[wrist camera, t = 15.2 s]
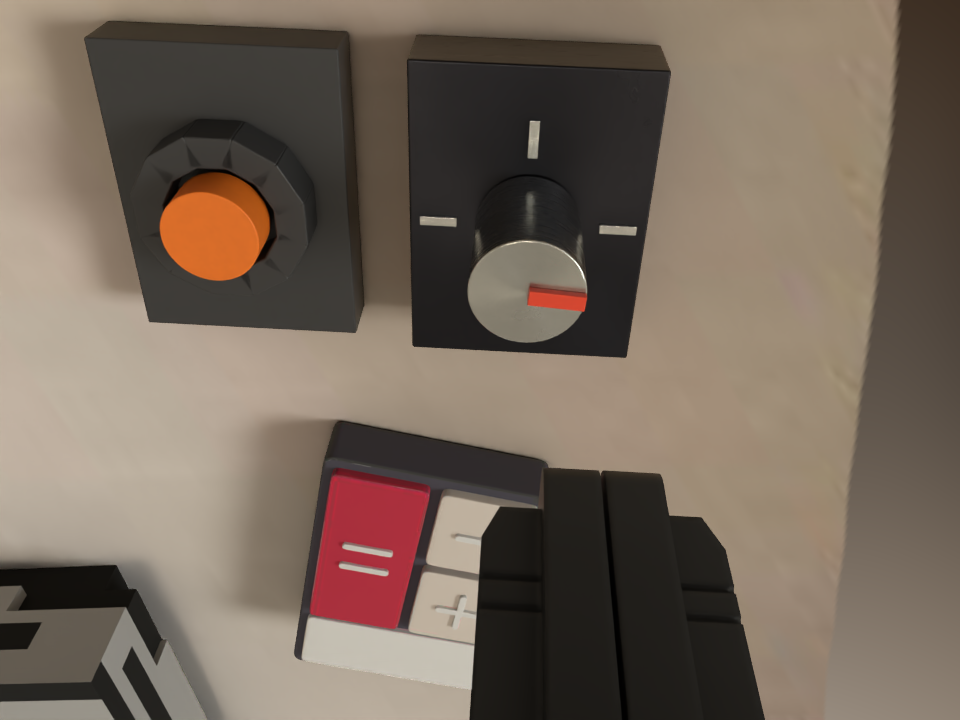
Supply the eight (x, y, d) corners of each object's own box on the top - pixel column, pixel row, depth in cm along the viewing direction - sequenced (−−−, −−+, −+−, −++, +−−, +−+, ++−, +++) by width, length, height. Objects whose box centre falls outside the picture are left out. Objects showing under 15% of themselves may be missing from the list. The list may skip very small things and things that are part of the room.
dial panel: (416, 33, 32) (406, 60, 30) (661, 44, 32) (672, 72, 30) (419, 308, 39) (411, 349, 37) (620, 319, 39) (627, 360, 37)
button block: (107, 20, 33) (60, 52, 29) (348, 31, 32) (328, 65, 29) (165, 295, 40) (133, 346, 36) (364, 306, 40) (349, 358, 36)
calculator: (553, 511, 41) (484, 704, 49) (550, 453, 45) (486, 642, 53) (320, 466, 40) (289, 671, 48) (337, 411, 44) (305, 610, 52)
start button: (167, 169, 32) (150, 189, 31) (265, 173, 32) (252, 194, 31) (183, 255, 34) (168, 278, 33) (275, 260, 34) (264, 283, 33)
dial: (470, 264, 34) (461, 341, 30) (480, 169, 32) (472, 238, 28) (571, 275, 35) (577, 354, 30) (589, 182, 32) (597, 252, 28)
